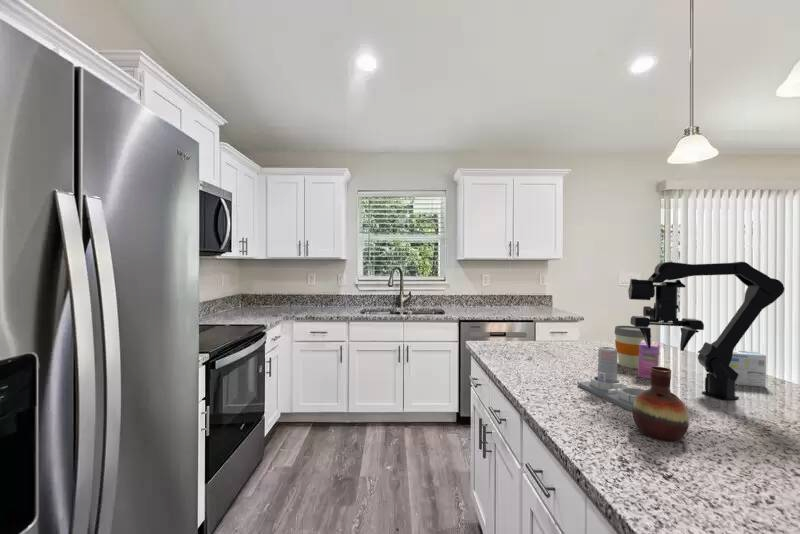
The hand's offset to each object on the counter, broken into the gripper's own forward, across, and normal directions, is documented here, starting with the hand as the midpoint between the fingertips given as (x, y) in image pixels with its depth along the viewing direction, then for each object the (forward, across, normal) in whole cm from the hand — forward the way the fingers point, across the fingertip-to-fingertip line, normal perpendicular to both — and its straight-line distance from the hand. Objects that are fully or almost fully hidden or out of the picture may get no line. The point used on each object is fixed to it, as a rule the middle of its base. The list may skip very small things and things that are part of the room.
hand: (665, 349), depth 122 cm
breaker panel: (+13, +15, +12) cm, 23 cm away
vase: (+13, +14, +38) cm, 42 cm away
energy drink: (+12, +18, +6) cm, 23 cm away
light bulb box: (+13, -29, -18) cm, 37 cm away
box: (+13, -1, -17) cm, 22 cm away
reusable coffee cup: (+13, +1, -31) cm, 34 cm away
